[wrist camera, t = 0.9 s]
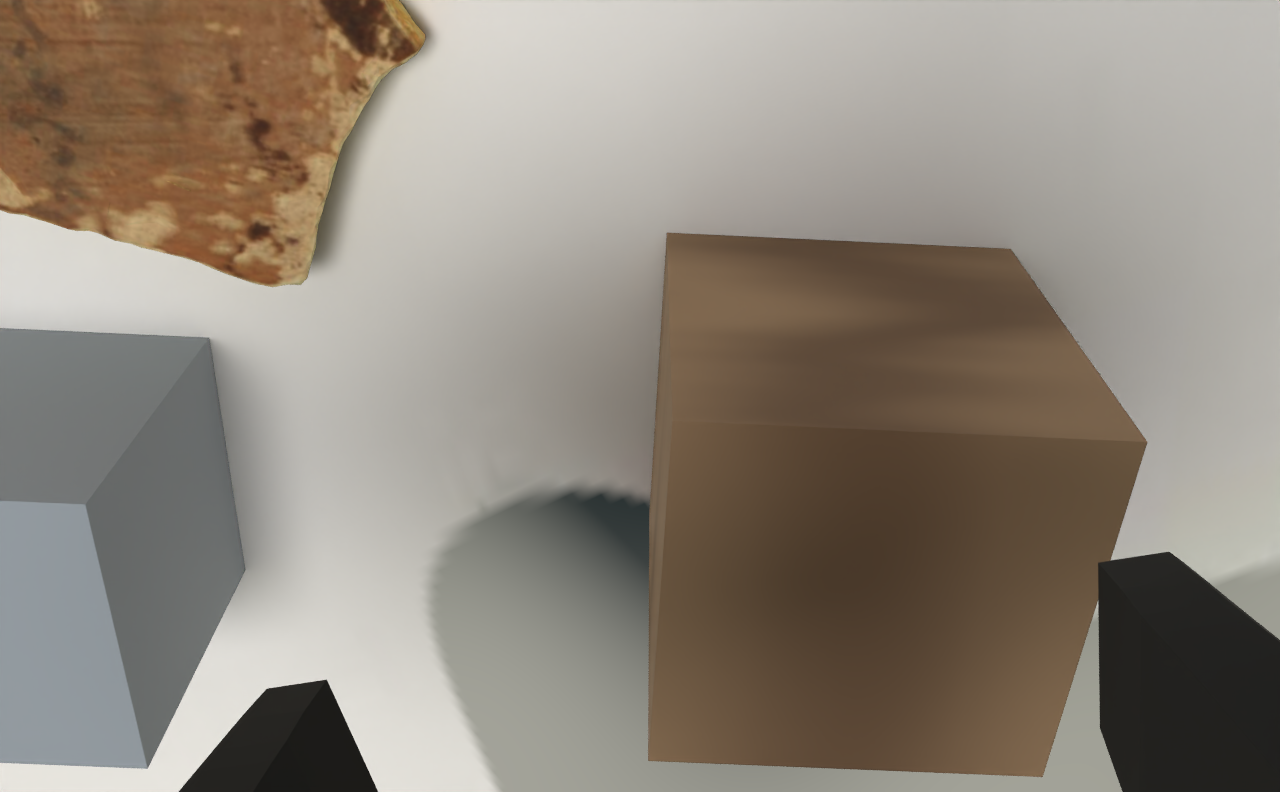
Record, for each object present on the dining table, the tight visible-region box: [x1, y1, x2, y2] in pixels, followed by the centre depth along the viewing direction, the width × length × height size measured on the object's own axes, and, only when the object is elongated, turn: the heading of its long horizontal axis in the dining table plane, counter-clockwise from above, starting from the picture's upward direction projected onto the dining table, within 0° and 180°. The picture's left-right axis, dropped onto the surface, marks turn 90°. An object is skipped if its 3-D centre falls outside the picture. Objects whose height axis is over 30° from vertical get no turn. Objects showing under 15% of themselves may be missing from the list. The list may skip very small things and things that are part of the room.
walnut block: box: [648, 233, 1147, 777], centre depth 17 cm, size 6×6×6 cm
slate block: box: [0, 328, 245, 769], centre depth 19 cm, size 5×5×5 cm
